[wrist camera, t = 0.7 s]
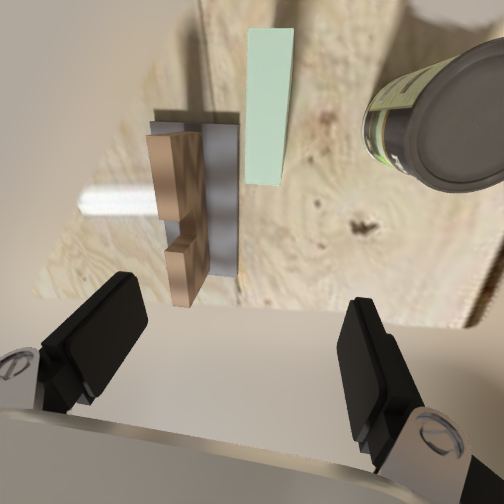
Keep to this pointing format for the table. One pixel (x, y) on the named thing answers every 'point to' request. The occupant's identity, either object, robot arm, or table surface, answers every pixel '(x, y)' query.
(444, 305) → the table surface
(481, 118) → the coffee can
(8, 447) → the robot arm
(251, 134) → the green slat
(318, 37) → the table surface
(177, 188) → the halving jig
